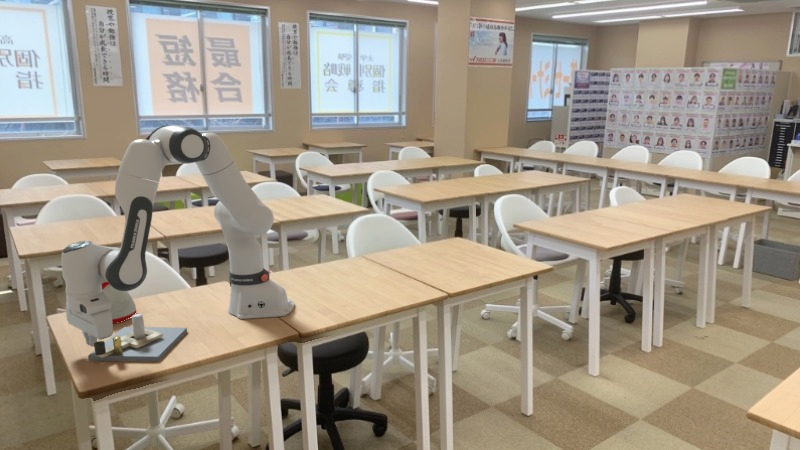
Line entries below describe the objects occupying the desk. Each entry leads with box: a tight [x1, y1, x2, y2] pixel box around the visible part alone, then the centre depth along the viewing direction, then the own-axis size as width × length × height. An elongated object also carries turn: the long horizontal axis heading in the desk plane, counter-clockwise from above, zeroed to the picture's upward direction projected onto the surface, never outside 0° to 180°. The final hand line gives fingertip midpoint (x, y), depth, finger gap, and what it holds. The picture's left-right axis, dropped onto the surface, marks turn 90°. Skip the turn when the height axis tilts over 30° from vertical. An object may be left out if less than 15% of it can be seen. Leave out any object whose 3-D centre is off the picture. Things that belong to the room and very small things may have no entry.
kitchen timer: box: [101, 282, 137, 324], centre depth 185 cm, size 14×14×15 cm
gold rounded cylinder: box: [113, 336, 123, 356], centre depth 156 cm, size 2×2×5 cm
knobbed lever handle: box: [93, 328, 163, 358], centre depth 160 cm, size 18×9×4 cm, turn 152°
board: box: [87, 313, 188, 362], centre depth 164 cm, size 20×20×10 cm
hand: (92, 344), depth 157 cm, fingers closed
